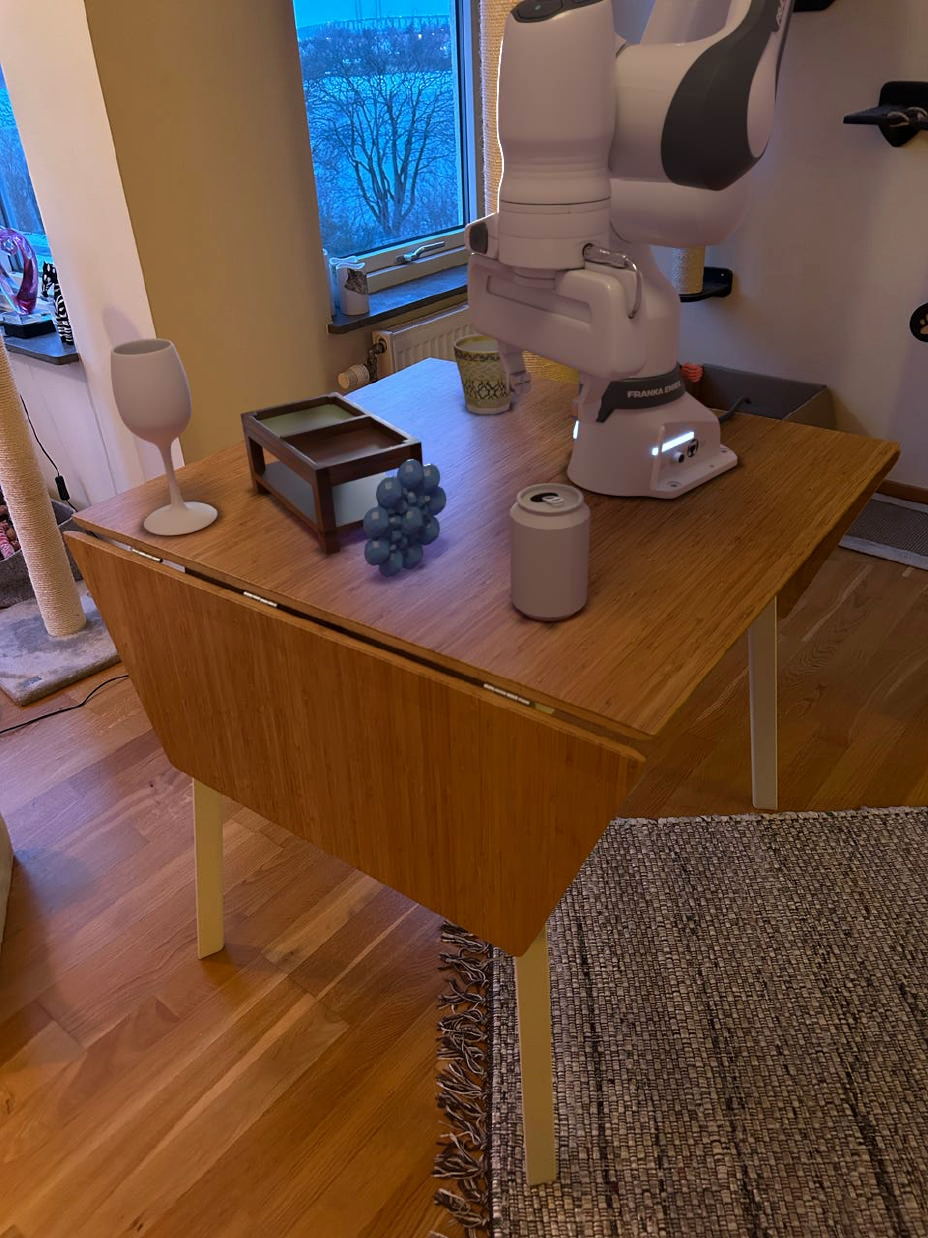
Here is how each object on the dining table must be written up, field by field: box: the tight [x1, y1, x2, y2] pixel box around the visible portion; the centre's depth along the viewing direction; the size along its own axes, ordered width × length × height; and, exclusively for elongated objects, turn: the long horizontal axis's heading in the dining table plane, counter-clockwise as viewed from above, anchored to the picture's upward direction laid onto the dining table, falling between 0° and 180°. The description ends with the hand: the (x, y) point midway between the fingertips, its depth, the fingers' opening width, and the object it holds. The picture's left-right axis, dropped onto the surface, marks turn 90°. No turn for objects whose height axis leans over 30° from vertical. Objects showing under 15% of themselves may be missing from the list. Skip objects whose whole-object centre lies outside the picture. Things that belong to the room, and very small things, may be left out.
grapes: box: [363, 459, 447, 579], centre depth 96 cm, size 12×7×12 cm, turn 138°
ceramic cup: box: [452, 333, 526, 415], centre depth 139 cm, size 13×10×10 cm
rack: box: [239, 391, 424, 556], centre depth 110 cm, size 13×22×10 cm, turn 33°
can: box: [509, 482, 591, 622], centre depth 88 cm, size 8×8×12 cm
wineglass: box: [110, 337, 218, 536], centre depth 105 cm, size 9×9×21 cm
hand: (549, 405), depth 80 cm, fingers open, 8 cm apart
